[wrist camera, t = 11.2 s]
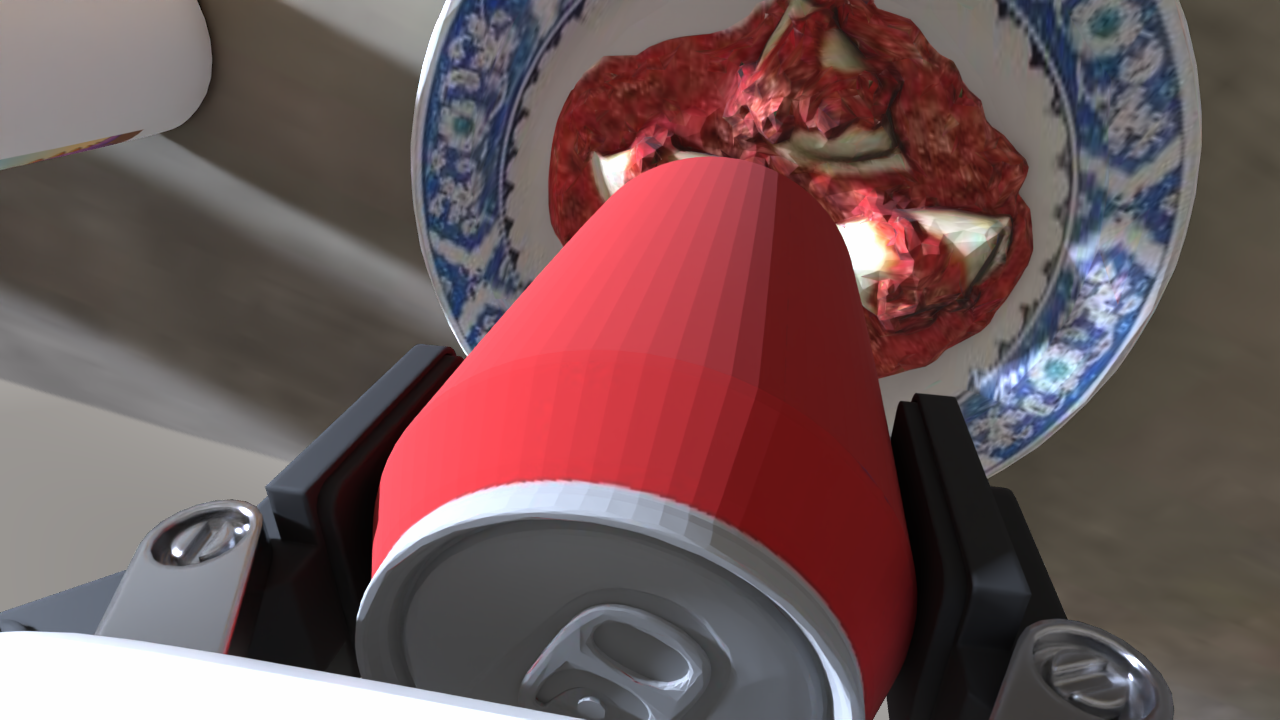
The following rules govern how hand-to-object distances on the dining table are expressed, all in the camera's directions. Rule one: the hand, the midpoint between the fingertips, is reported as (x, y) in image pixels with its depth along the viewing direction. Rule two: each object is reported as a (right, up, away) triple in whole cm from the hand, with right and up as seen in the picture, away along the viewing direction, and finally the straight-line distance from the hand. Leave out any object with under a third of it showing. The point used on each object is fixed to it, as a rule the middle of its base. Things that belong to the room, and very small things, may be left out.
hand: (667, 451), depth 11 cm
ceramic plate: (+4, +7, +15) cm, 17 cm away
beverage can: (+1, +3, +6) cm, 7 cm away
